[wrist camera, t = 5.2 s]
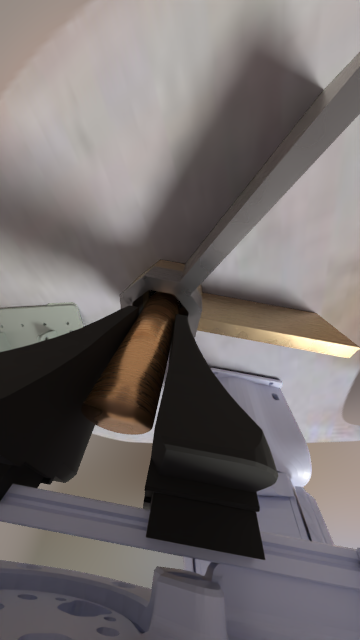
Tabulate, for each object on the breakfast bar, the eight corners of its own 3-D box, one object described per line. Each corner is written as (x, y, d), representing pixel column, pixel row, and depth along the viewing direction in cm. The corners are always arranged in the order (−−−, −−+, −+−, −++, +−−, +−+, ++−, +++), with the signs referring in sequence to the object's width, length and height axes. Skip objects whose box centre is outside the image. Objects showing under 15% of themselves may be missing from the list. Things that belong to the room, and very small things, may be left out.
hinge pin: (181, 294, 11) (154, 408, 4) (177, 320, 12) (151, 439, 6) (149, 288, 11) (72, 392, 4) (148, 315, 12) (89, 427, 6)
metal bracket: (94, 414, 18) (-7, 408, 20) (119, 381, 23) (37, 379, 26) (56, 294, 14) (-65, 303, 16) (97, 288, 19) (3, 296, 22)
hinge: (471, 114, 7) (760, 1, 4) (295, 339, 15) (326, 377, 12) (142, 57, 7) (83, -113, 4) (141, 311, 16) (123, 339, 12)
